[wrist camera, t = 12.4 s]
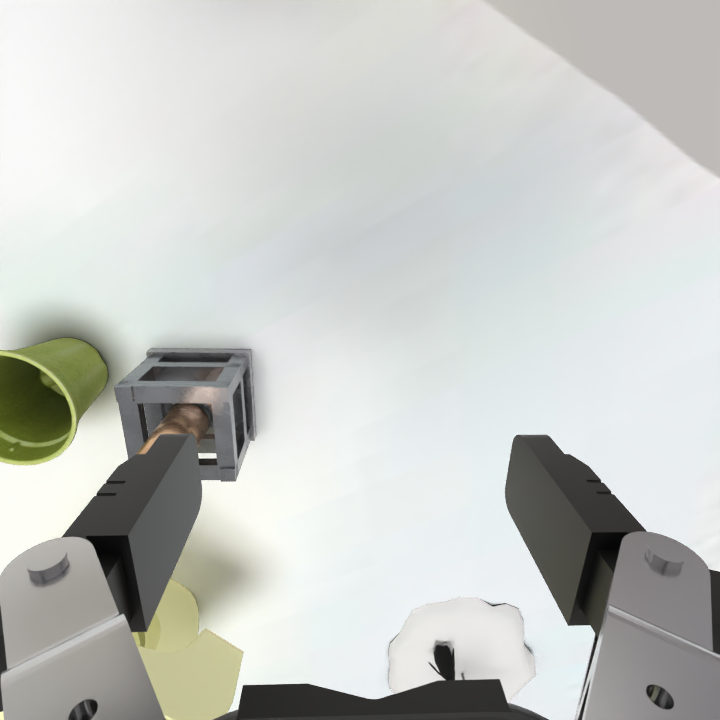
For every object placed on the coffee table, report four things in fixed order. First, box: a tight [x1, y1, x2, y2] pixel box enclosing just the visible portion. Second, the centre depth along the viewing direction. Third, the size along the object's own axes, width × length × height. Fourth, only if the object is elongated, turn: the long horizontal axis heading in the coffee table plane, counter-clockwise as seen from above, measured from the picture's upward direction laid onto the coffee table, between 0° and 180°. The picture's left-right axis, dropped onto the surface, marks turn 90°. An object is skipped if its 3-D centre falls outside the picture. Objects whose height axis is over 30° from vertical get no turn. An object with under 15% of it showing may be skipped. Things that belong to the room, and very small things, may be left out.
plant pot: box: [0, 338, 108, 465], centre depth 38 cm, size 9×9×9 cm
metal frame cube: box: [114, 348, 256, 481], centre depth 40 cm, size 9×9×8 cm
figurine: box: [388, 597, 536, 703], centre depth 50 cm, size 20×18×16 cm
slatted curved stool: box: [0, 578, 243, 720], centre depth 44 cm, size 30×16×18 cm, turn 134°
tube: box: [137, 403, 213, 454], centre depth 35 cm, size 4×4×16 cm
